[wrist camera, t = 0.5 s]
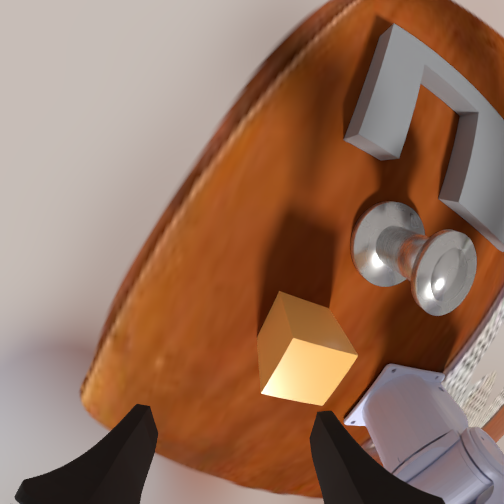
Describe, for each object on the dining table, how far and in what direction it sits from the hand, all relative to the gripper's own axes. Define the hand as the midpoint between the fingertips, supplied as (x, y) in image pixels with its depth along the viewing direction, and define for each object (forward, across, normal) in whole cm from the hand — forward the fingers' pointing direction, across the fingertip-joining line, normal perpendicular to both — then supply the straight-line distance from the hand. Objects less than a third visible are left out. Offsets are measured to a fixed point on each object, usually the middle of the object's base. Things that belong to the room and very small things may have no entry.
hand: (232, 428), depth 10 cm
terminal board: (+10, -18, -14) cm, 25 cm away
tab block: (+10, -4, 0) cm, 10 cm away
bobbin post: (+10, -10, -6) cm, 15 cm away
